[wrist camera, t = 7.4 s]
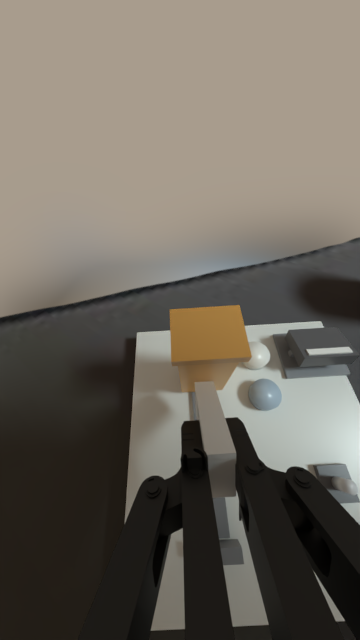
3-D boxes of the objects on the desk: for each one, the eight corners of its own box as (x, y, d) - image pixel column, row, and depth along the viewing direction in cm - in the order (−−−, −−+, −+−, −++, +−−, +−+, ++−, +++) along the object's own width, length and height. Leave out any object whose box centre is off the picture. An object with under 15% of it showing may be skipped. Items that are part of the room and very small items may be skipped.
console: (313, 329, 26) (333, 310, 23) (430, 595, 15) (506, 644, 11) (140, 339, 26) (132, 323, 23) (125, 610, 15) (105, 663, 12)
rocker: (330, 335, 22) (337, 325, 21) (351, 363, 20) (360, 354, 19) (284, 338, 22) (289, 328, 21) (299, 367, 20) (305, 357, 19)
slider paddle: (220, 357, 22) (239, 305, 14) (225, 393, 20) (252, 357, 12) (177, 360, 22) (169, 309, 14) (178, 395, 20) (171, 361, 12)
